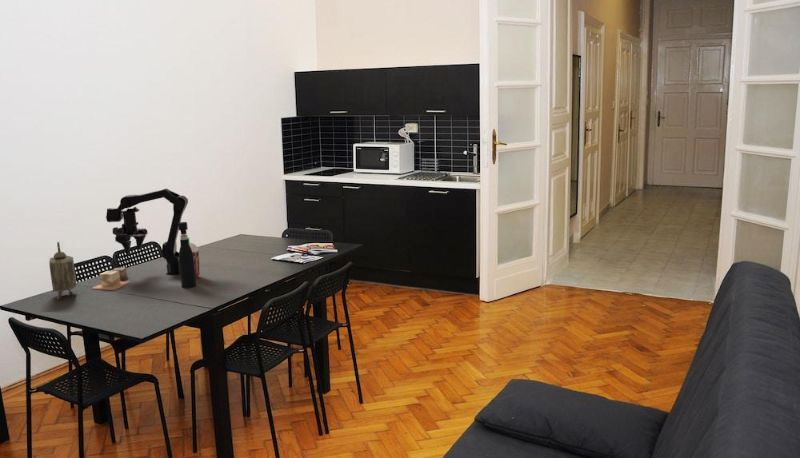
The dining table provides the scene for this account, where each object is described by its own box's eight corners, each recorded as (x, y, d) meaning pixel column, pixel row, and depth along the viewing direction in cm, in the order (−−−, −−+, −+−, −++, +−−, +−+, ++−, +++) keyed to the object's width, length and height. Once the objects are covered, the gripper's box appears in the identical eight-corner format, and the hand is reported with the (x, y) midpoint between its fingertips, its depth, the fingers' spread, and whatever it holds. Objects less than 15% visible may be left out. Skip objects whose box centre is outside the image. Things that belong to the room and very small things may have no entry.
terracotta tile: (129, 282, 332) (129, 281, 332) (114, 289, 321) (114, 288, 321) (107, 282, 335) (107, 281, 335) (91, 289, 324) (91, 288, 323)
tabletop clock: (56, 293, 319) (48, 240, 314) (77, 290, 322) (70, 237, 318) (54, 301, 306) (46, 246, 301) (77, 298, 309) (69, 243, 304)
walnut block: (127, 277, 344) (126, 267, 343) (123, 279, 339) (122, 269, 338) (117, 277, 344) (115, 267, 343) (113, 280, 339) (112, 270, 338)
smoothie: (205, 276, 339) (201, 236, 335) (193, 280, 331) (189, 239, 327) (191, 275, 342) (187, 235, 338) (180, 279, 335) (175, 238, 331)
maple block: (120, 283, 330) (118, 270, 329) (112, 286, 324) (111, 274, 323) (109, 282, 331) (107, 270, 330) (101, 286, 326) (99, 274, 324)
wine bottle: (183, 288, 318) (176, 224, 312) (180, 285, 323) (174, 222, 318) (197, 286, 321) (191, 222, 315) (194, 283, 326) (188, 220, 320)
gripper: (126, 217, 351) (130, 247, 354) (103, 224, 333) (107, 256, 336) (146, 217, 349) (149, 247, 352) (124, 224, 331) (127, 256, 334)
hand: (133, 252), depth 343 cm, fingers open, 9 cm apart
